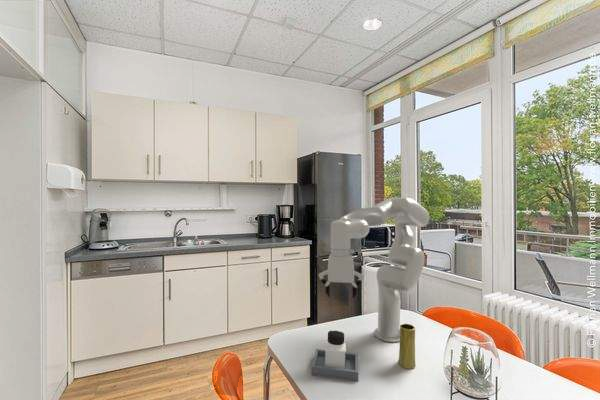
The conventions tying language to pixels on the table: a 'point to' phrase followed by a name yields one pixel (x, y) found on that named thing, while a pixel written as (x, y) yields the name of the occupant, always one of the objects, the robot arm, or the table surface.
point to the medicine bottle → (335, 350)
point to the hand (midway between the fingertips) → (341, 296)
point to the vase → (407, 346)
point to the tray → (347, 373)
